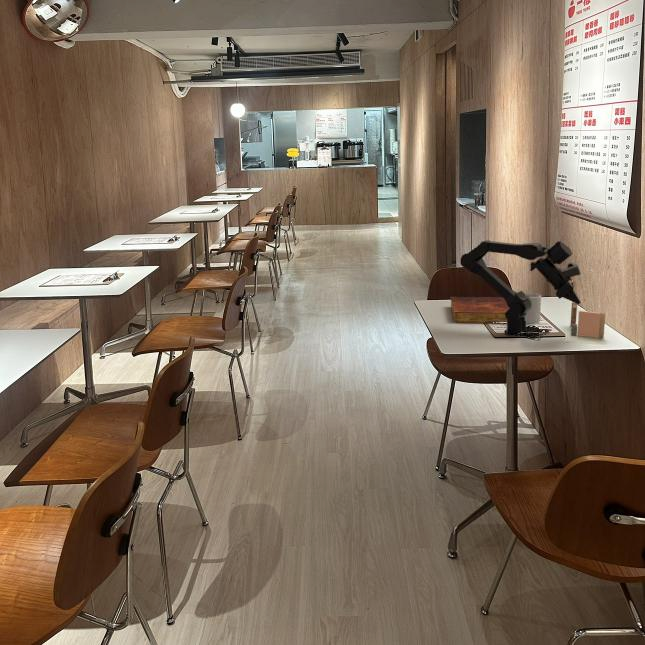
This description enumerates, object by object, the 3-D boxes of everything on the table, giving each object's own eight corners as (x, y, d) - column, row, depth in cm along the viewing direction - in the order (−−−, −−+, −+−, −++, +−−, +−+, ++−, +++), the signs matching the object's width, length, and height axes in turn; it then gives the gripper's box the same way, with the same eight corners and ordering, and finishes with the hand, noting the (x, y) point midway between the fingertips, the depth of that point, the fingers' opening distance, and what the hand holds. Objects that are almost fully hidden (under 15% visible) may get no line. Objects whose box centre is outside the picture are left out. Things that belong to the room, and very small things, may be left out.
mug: (540, 325, 316) (541, 297, 314) (517, 324, 318) (519, 296, 316) (539, 318, 328) (541, 291, 325) (518, 317, 330) (519, 291, 327)
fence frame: (571, 335, 299) (572, 310, 297) (570, 325, 313) (571, 301, 311) (576, 335, 298) (578, 310, 296) (575, 326, 313) (577, 302, 311)
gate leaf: (602, 338, 293) (604, 313, 290) (577, 335, 298) (578, 310, 296) (604, 337, 294) (606, 312, 292) (578, 334, 299) (580, 309, 297)
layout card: (565, 342, 290) (565, 341, 290) (564, 326, 314) (564, 325, 313) (605, 345, 287) (605, 344, 286) (601, 328, 310) (601, 327, 310)
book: (514, 325, 319) (515, 312, 318) (453, 324, 322) (453, 312, 320) (505, 308, 348) (506, 297, 347) (449, 308, 350) (450, 297, 349)
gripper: (568, 261, 281) (599, 294, 281) (567, 253, 299) (595, 283, 299) (543, 282, 285) (573, 314, 285) (543, 272, 303) (572, 303, 303)
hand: (579, 303), depth 293 cm, fingers closed
